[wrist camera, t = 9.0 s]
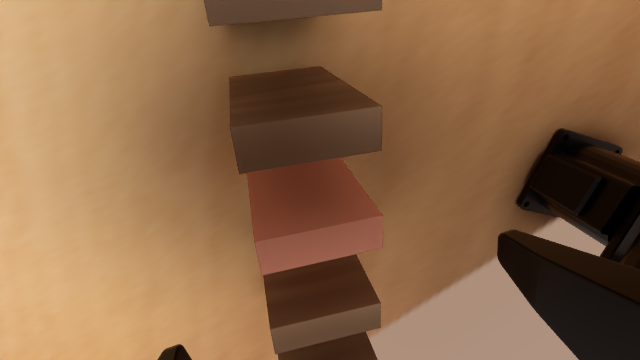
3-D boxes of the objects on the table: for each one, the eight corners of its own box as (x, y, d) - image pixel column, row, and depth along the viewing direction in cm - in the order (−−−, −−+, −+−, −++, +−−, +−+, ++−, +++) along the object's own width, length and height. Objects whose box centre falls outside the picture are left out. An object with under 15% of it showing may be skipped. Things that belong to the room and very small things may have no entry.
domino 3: (244, 153, 21) (254, 242, 13) (326, 139, 22) (382, 215, 14) (249, 177, 22) (261, 275, 14) (328, 163, 22) (382, 247, 15)
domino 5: (266, 271, 25) (283, 393, 17) (334, 257, 26) (380, 367, 18) (269, 288, 26) (287, 413, 18) (335, 273, 27) (380, 386, 19)
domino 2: (229, 77, 19) (230, 127, 11) (320, 66, 20) (381, 106, 12) (234, 106, 20) (239, 173, 12) (322, 95, 20) (381, 150, 13)
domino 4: (256, 218, 23) (270, 329, 15) (330, 204, 24) (380, 303, 16) (259, 238, 24) (275, 354, 16) (331, 224, 24) (380, 327, 17)
